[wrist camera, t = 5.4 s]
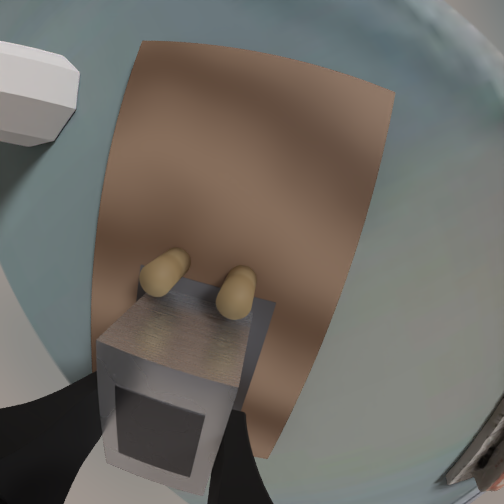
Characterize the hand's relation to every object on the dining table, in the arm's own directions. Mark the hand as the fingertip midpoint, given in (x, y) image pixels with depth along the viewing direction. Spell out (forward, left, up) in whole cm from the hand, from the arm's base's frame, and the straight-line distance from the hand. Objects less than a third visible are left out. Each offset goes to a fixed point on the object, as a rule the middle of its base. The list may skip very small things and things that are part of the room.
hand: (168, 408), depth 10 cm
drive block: (0, 0, -3) cm, 3 cm away
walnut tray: (+4, 0, -4) cm, 6 cm away
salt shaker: (+11, +11, -5) cm, 17 cm away
